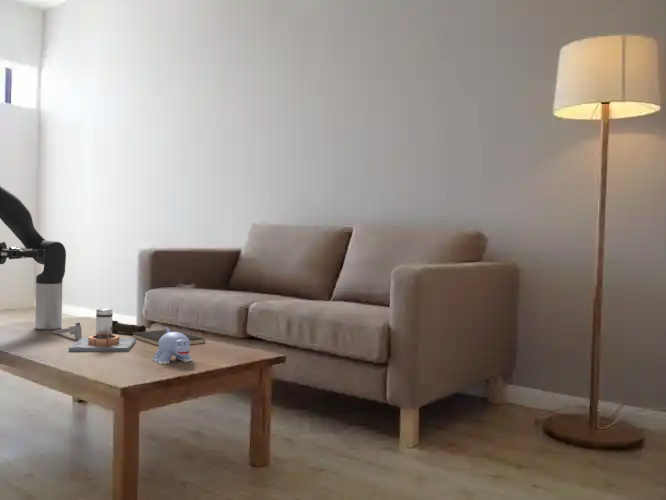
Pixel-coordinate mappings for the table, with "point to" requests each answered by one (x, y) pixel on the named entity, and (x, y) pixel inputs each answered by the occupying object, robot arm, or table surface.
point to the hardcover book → (156, 335)
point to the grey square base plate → (103, 344)
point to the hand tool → (127, 328)
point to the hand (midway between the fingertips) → (41, 253)
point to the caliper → (71, 331)
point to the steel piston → (104, 323)
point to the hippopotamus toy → (173, 348)
